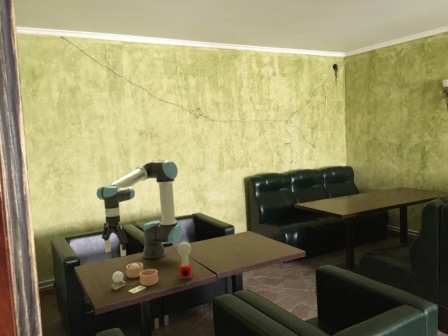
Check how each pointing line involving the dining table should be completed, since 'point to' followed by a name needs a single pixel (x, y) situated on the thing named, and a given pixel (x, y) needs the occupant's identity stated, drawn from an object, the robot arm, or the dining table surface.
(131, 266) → the ball sage
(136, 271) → the cup
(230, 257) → the dining table surface
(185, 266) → the toy
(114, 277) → the ball grey
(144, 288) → the card
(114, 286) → the cradle
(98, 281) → the dining table surface
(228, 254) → the dining table surface
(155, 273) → the cup
